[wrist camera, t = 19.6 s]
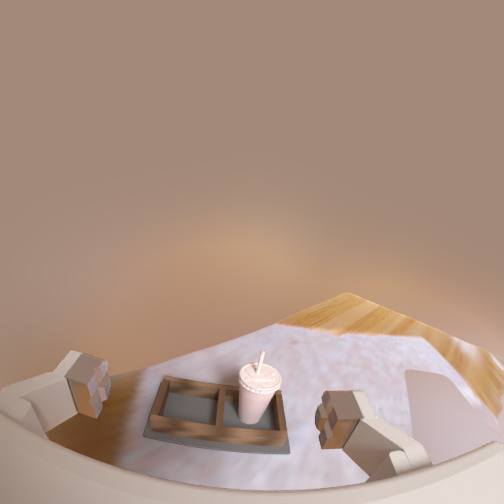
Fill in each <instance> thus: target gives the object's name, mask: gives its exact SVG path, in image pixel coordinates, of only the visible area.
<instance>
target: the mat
mask: <svg viewBox="0 0 504 504" xmlns="http://www.w3.org/2000/svg"><path fill="white" fill-rule="evenodd" d="M161 385H162V382H161ZM161 385H160V387H159V390H158V393H157V396H156V399H155V402H154V405H153V408H152V410H151V413H150V416H149V419H148V422H147V425H146V428H145V431H144V434H143V436H144V437H148V438H152V439H156V440H161V441H165V442H170V443H176V444H181V445H187V446H193V447H199V448H206V449H214V450H222V451H232V452H244V453H260V454H290V447H289V440H288V436H287V439H286V441H285V443H284V446H256V445H242V444H231V443H222V442H213V441H206V440H199V439H193V438H187V437H181V436H176V435H170V434H165V433H161V432H156V431H152V430H151V422H150V418H151V415H152V412H153V409H154V406H155V403H156V400H157V397H158V394H159V391H160V388H161ZM282 401H283V400H282ZM217 405H218V400H213V399H206V398H200V397H193V396H187V395H182V394H176V393H171V392H170V393H169V396H168V399H167V403H166V406H165V409H164V413H163V416H162V417H167V418H172V419H177V420H183V421H188V422H194V423H201V424H208V425H216V415H217ZM238 408H239V403H238V402H229V401H225V402H224V415H223V427H232V428H243V429H256V430H274V431H275V426H274V417H273V408H272V405H268V406H267V408H266V409H265V411H264V413H263V415H262V417H261V418H260V420H259V422H257V423H255V424H246V423H243V422H242V421H241V420H240V419H239V417H238ZM283 408H284V407H283ZM285 421H286V420H285ZM286 428H287V427H286Z"/></svg>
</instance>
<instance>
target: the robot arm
mask: <svg viewBox="0 0 504 504" xmlns="http://www.w3.org/2000/svg"><path fill="white" fill-rule="evenodd" d="M108 369H109V367H108V362H107V361H106V360H104V359H100V358H97V357H94V356H91V355H88V354H85V353H81V352H78V351H76V350H71V351H70V352H69V353H68V354H67V355H66V356H65V358H64V359H63V360H62V361H61V362H60V364H59V365H58V366H57V367H56V369H55V370H54V371H53V372H46V373H43V374H41V375H38V376H35V377H32V378H29V379H26V380H23V381H20V382H17V383H14V384H11V385H8V386H5V387H3V388H2V390H1V391H0V504H504V444H503V443H501V442H498V441H493V442H490V443H488V444H486V445H483V446H481V447H479V448H477V449H475V450H472V451H470V452H468V453H465V454H463V455H460V456H458V457H456V458H453V459H450V460H447V461H445V462H442V463H439V464H436V465H432V463H431V461H430V459H429V457H428V455H427V453H426V451H425V449H424V448H423V446H422V444H420V443H419V442H417V441H415V440H414V439H412V438H411V437H409V436H408V435H406V434H404V433H403V432H401V431H400V430H398V429H397V428H395V427H394V426H392V425H391V424H389V423H388V422H386V421H385V420H383V419H382V418H380V417H376V416H375V414H374V411H373V409H372V407H371V405H370V403H369V401H368V399H367V397H366V395H365V393H364V391H362V390H350V391H325V392H324V393H323V396H322V401H323V403H322V404H320V405H319V406H318V407H317V410H316V414H315V425H316V428H317V429H318V430H319V431H320V432H321V433H320V434H319V436H318V437H319V441H320V445H321V449H341V448H343V449H342V450H343V451H344V452H345V453H346V454H347V455H348V456H349V457H350V458H351V459H352V460H353V461H354V462H355V463H356V464H357V465H358V466H359V467H360V468H361V469H362V470H364V471H365V472H366V473H367V474H368V475H369V476H370V477H369V478H368V480H367V481H366V482H365V483H360V484H353V485H347V486H339V487H330V488H320V489H307V490H281V491H266V490H240V489H227V488H217V487H208V486H201V485H194V484H187V483H182V482H176V481H171V480H166V479H161V478H157V477H152V476H148V475H144V474H140V473H137V472H133V471H129V470H126V469H123V468H119V467H116V466H113V465H110V464H107V463H104V462H101V461H98V460H95V459H93V458H90V457H87V456H85V455H82V454H80V453H77V452H75V451H72V450H70V449H68V448H65V447H63V446H61V445H59V444H56V443H54V442H52V441H50V440H49V439H48V437H47V435H46V432H47V431H49V430H51V429H52V428H54V427H56V426H58V425H59V424H61V423H63V422H64V421H66V420H67V419H69V418H71V417H72V416H74V415H76V414H77V412H78V413H81V414H84V415H87V416H90V417H93V418H97V417H98V415H99V413H100V412H101V410H102V408H103V406H102V401H104V400H106V399H107V398H108V396H109V394H110V390H111V378H110V376H109V375H108V374H107V371H108Z"/></svg>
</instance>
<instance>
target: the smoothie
mask: <svg viewBox="0 0 504 504" xmlns="http://www.w3.org/2000/svg"><path fill="white" fill-rule="evenodd" d="M264 354H265V350H261V354H260V358H259V362H258V363H249V364H246V365H244V366H243V367H242V368H241V369H240V372H239V375H238V380H239V382H240V390H239V408H238V417H239V419H240V420H241V421H242V422H243V423H246V424H255V423H257V422H259V420H260V418H261V417H262V415H263V413H264V411H265V409H266V408H267V406H268V404H269V402H270V400H271V398H272V397H273V395H274V393H275V391H277V390H278V389H279V388H280V385H281V381H282V378H281V375H280V373H279V372H278V371H277V370H276V369H275V368H273V367H271V366H269V365H267V364H263V363H262V362H263V358H264Z"/></svg>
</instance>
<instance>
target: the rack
mask: <svg viewBox="0 0 504 504" xmlns="http://www.w3.org/2000/svg"><path fill="white" fill-rule="evenodd" d="M239 390H240V387H236V386H227V385H220V384H212V383H205V382H199V381H193V380H187V379H181V378H176V377H171V376H165V377H164V380H163V382H162V385H161V388H160V391H159V394H158V397H157V400H156V403H155V406H154V409H153V412H152V415H151V418H150V422H151V430H152V431H156V432H161V433H165V434H170V435H176V436H181V437H187V438H193V439H199V440H206V441H213V442H222V443H231V444H242V445H256V446H284V443H285V441H286V439H287V436H288V434H287V428H286V421H285V414H284V408H283V401H282V394H281V390H277V391H275V393H274V395H273V397H272V398H271V400H270V402H269V404H268V405H272V408H273V417H274V426H275V431H274V430H256V429H243V428H232V427H223V415H224V402H225V401H229V402H238V403H239ZM170 392H171V393H176V394H182V395H187V396H193V397H200V398H206V399H213V400H218V405H217V415H216V425H208V424H201V423H194V422H188V421H183V420H177V419H172V418H167V417H162V416H163V413H164V409H165V406H166V403H167V399H168V396H169V393H170Z"/></svg>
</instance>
